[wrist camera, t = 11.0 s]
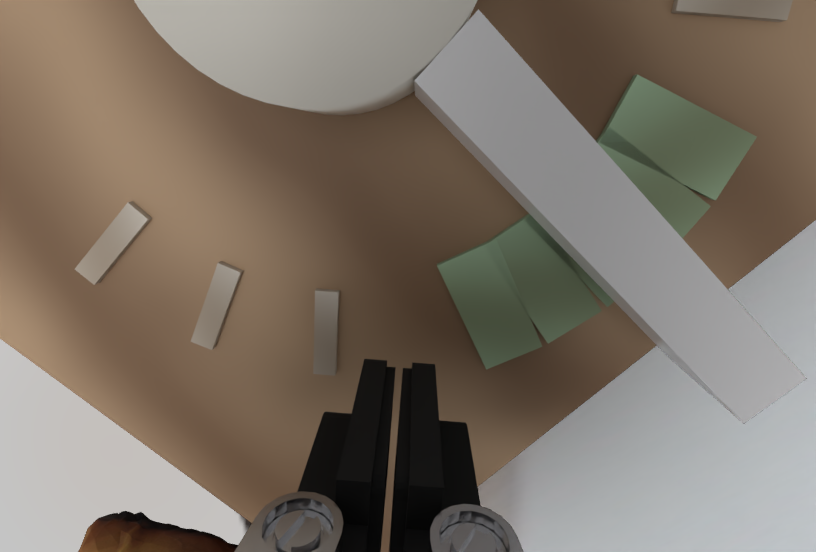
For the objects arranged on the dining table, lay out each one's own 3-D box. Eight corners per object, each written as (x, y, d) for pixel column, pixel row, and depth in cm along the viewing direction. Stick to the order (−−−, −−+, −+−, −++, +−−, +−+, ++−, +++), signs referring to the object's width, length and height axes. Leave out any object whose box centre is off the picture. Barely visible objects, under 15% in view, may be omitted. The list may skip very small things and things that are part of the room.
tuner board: (365, -531, 9) (350, -726, 7) (847, 134, 13) (932, 135, 11) (-101, 193, 14) (-195, 204, 12) (352, 540, 17) (343, 597, 15)
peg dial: (129, -34, 10) (7, -105, 7) (318, -315, 8) (266, -549, 5) (595, 409, 13) (649, 492, 10) (791, 254, 11) (920, 296, 8)
